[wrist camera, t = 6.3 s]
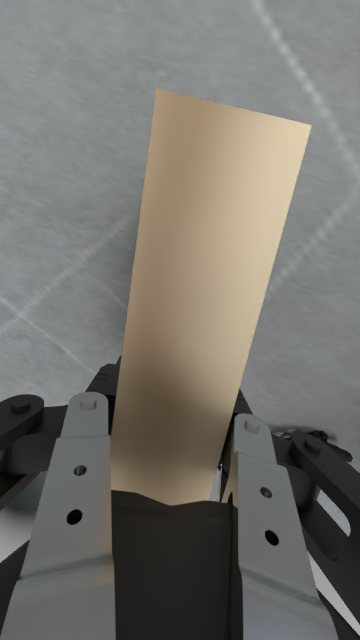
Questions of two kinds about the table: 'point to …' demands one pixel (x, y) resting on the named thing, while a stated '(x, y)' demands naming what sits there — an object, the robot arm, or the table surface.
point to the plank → (197, 287)
